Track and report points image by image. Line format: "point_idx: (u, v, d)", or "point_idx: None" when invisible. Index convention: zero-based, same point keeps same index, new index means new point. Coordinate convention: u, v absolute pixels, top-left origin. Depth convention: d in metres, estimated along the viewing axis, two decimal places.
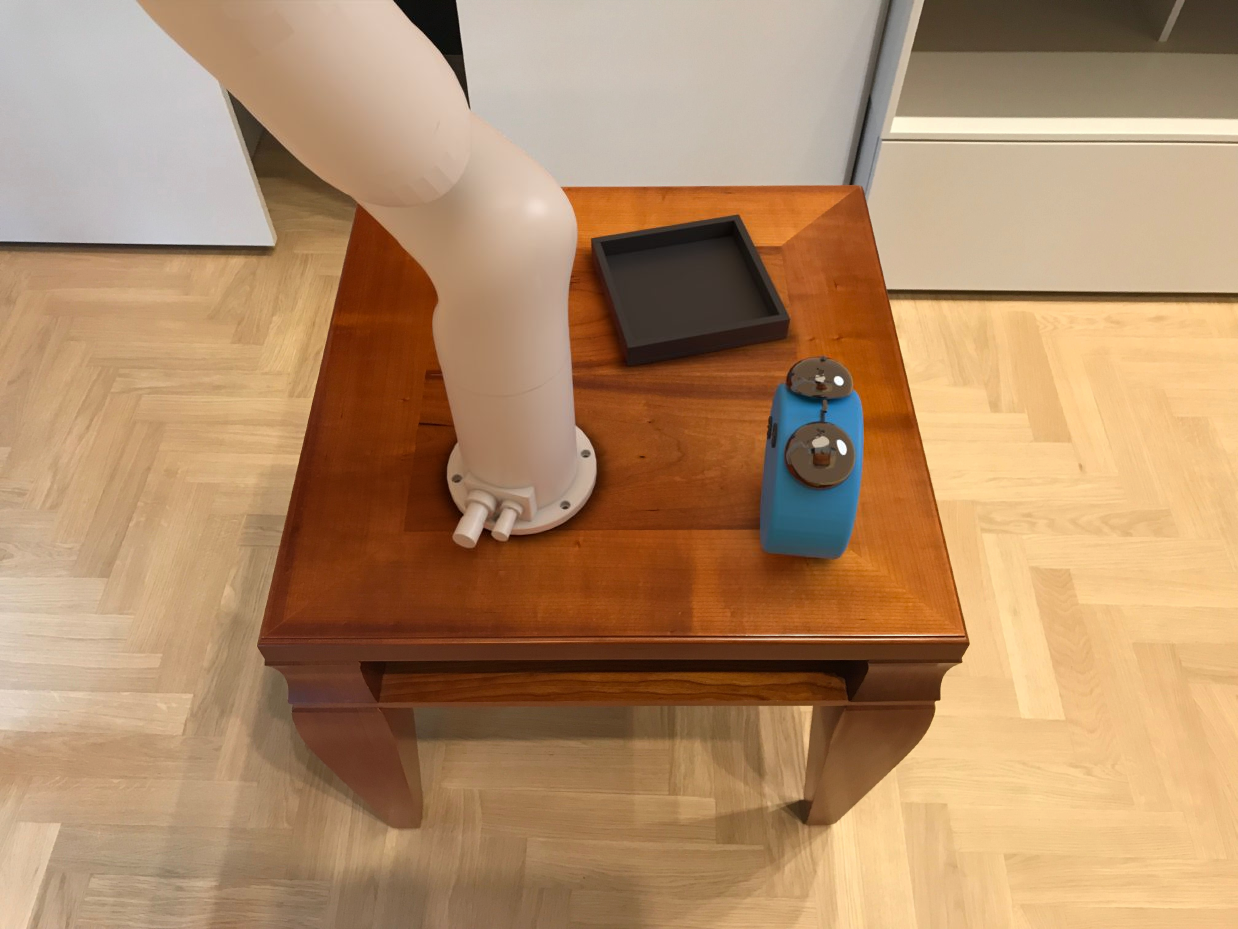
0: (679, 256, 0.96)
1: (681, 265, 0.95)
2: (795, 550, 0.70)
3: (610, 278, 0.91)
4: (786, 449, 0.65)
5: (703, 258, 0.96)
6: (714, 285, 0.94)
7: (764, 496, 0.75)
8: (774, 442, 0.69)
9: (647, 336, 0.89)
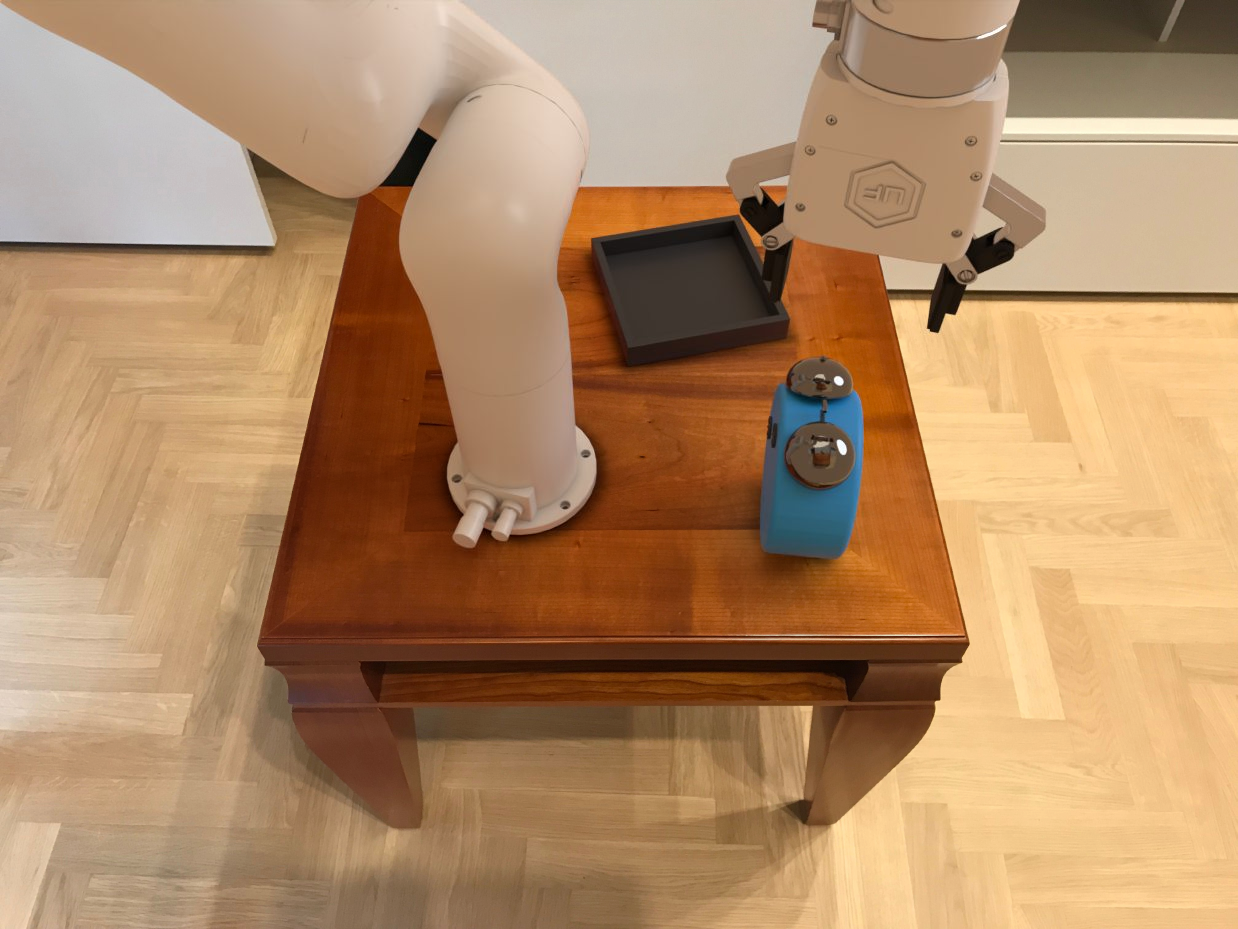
0: (679, 256, 0.96)
1: (681, 265, 0.95)
2: (795, 550, 0.70)
3: (610, 278, 0.91)
4: (786, 449, 0.65)
5: (703, 258, 0.96)
6: (714, 285, 0.94)
7: (764, 496, 0.75)
8: (774, 442, 0.69)
9: (647, 336, 0.89)
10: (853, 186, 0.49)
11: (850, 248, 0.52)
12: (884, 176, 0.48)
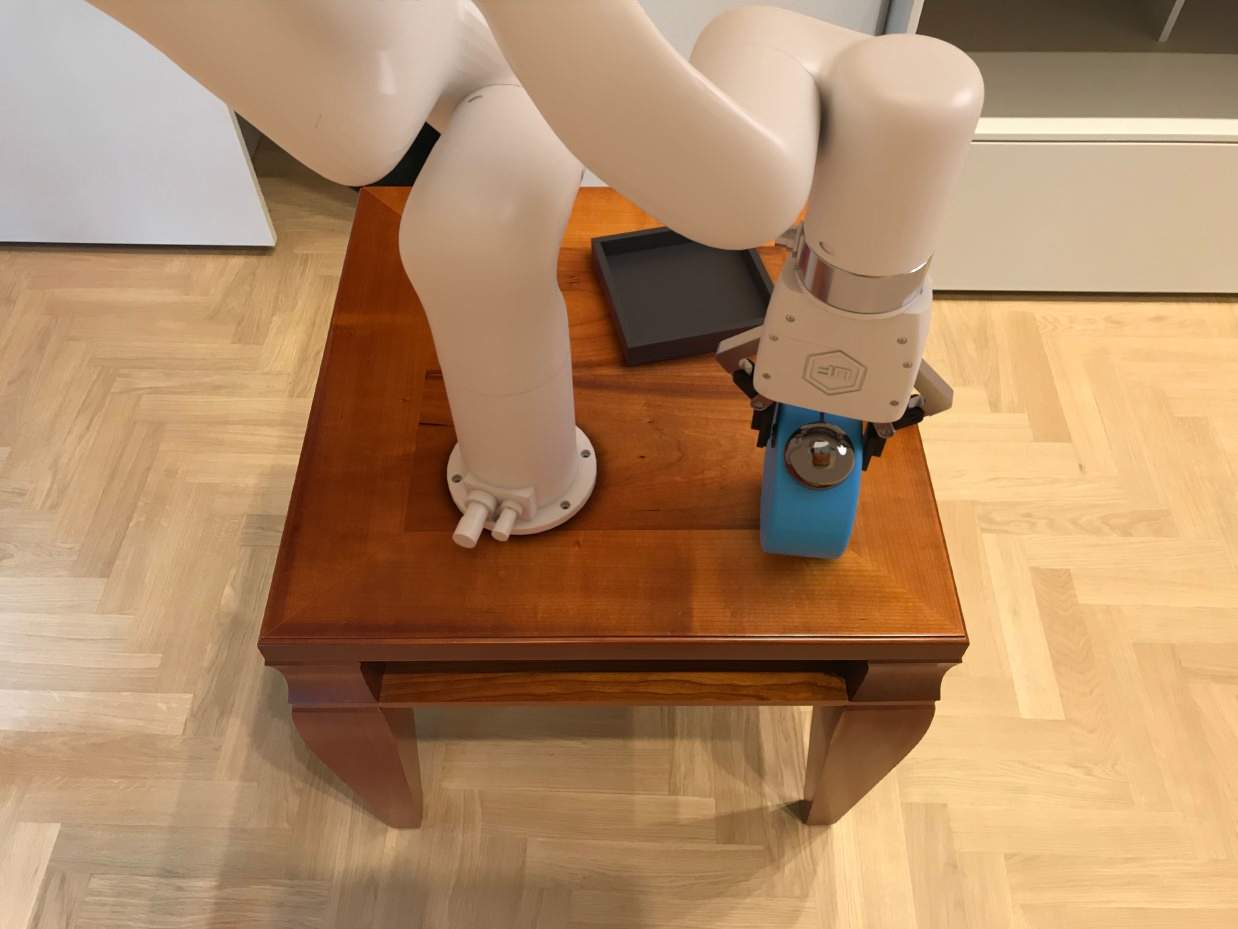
0: (679, 256, 0.96)
1: (681, 265, 0.95)
2: (795, 550, 0.70)
3: (610, 278, 0.91)
4: (785, 449, 0.65)
5: (703, 258, 0.96)
6: (714, 285, 0.94)
7: (764, 496, 0.75)
8: (774, 442, 0.69)
9: (647, 336, 0.89)
10: (809, 365, 0.60)
11: (808, 407, 0.63)
12: (834, 360, 0.59)
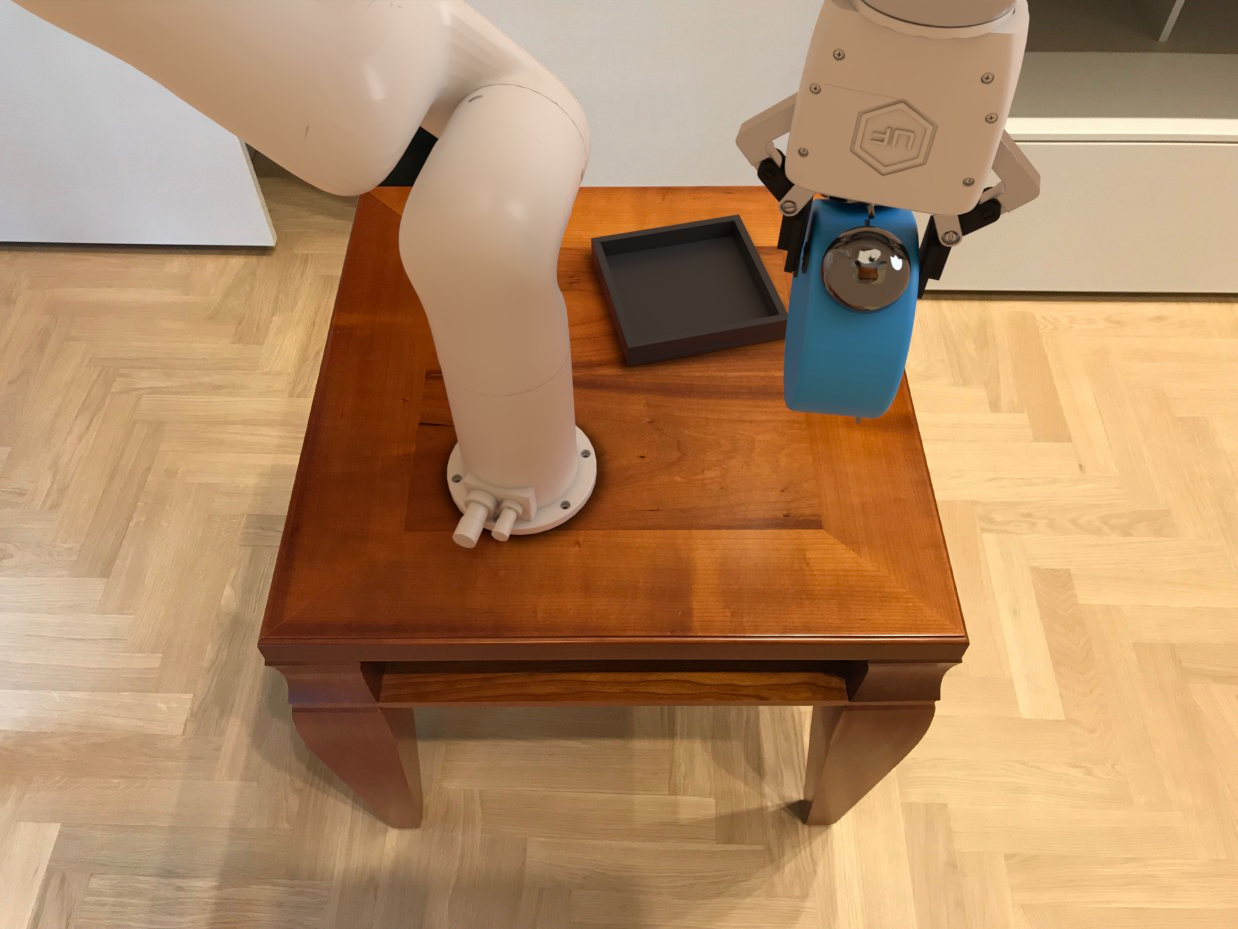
0: (679, 256, 0.96)
1: (681, 265, 0.95)
2: (830, 401, 0.56)
3: (610, 278, 0.91)
4: (823, 260, 0.52)
5: (703, 258, 0.96)
6: (714, 285, 0.94)
7: (790, 347, 0.61)
8: (806, 264, 0.55)
9: (647, 336, 0.89)
10: (860, 128, 0.46)
11: (855, 198, 0.49)
12: (893, 117, 0.45)
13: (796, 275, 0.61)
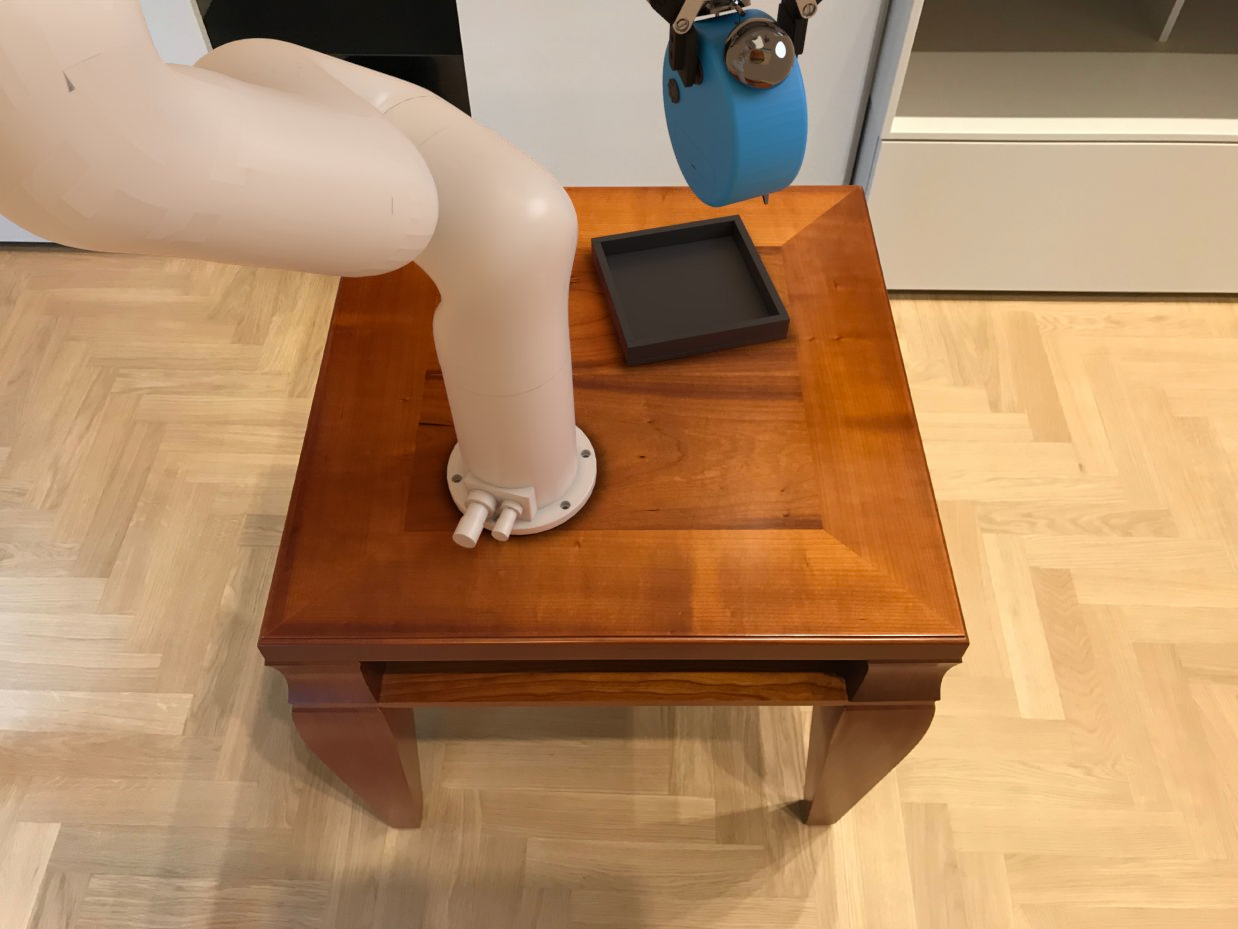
0: (679, 256, 0.96)
1: (681, 265, 0.95)
2: (759, 178, 0.68)
3: (610, 278, 0.91)
4: (728, 56, 0.63)
5: (703, 258, 0.96)
6: (714, 285, 0.94)
7: (696, 159, 0.72)
8: (701, 74, 0.66)
9: (647, 336, 0.89)
10: None
11: None
12: None
13: (678, 100, 0.72)
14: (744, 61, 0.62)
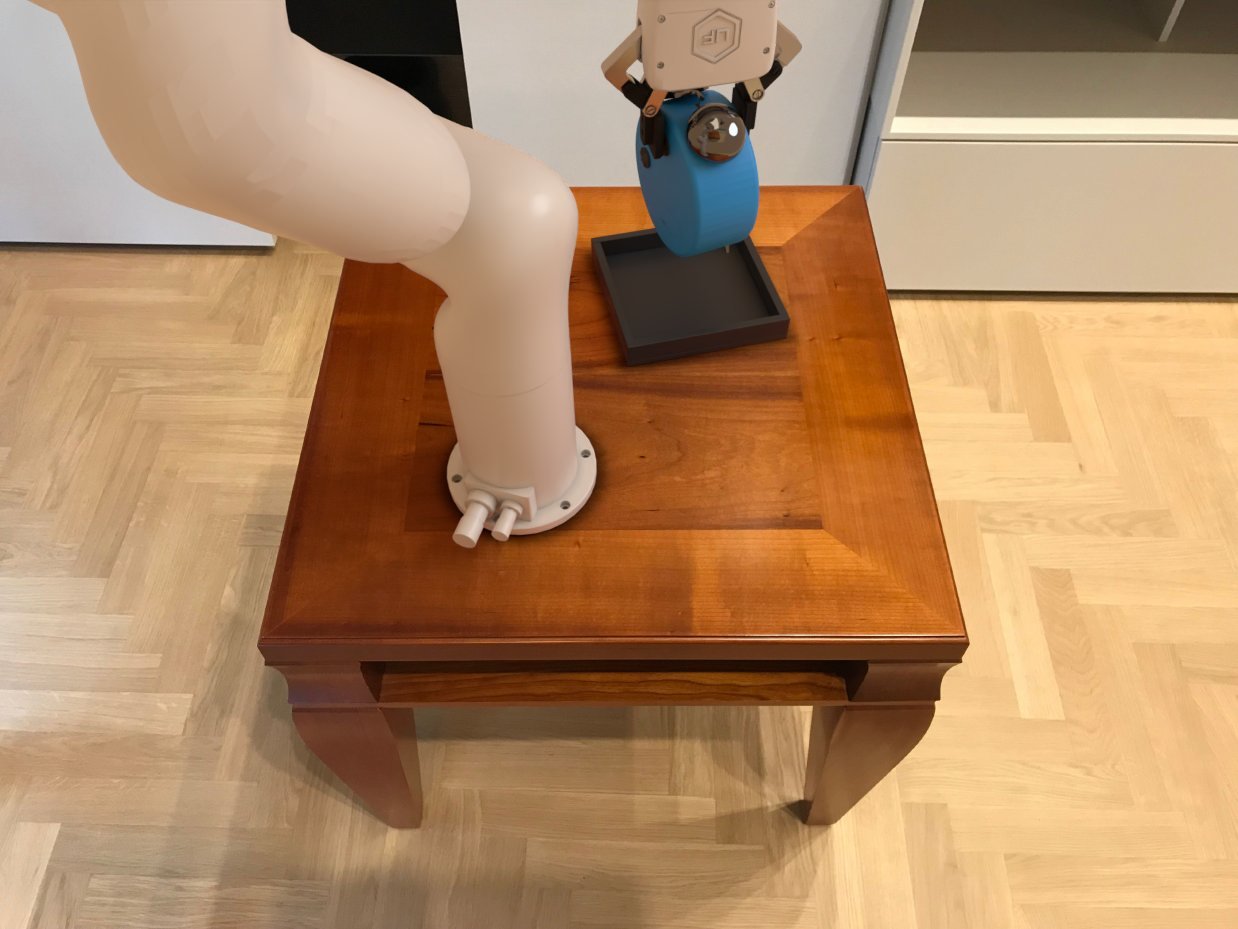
0: (679, 256, 0.96)
1: (681, 265, 0.95)
2: (719, 234, 0.80)
3: (610, 278, 0.91)
4: (689, 136, 0.74)
5: (703, 258, 0.96)
6: (714, 285, 0.94)
7: (666, 216, 0.83)
8: (668, 148, 0.78)
9: (647, 336, 0.89)
10: (695, 36, 0.69)
11: (699, 85, 0.72)
12: (714, 22, 0.68)
13: (649, 165, 0.83)
14: (703, 140, 0.74)
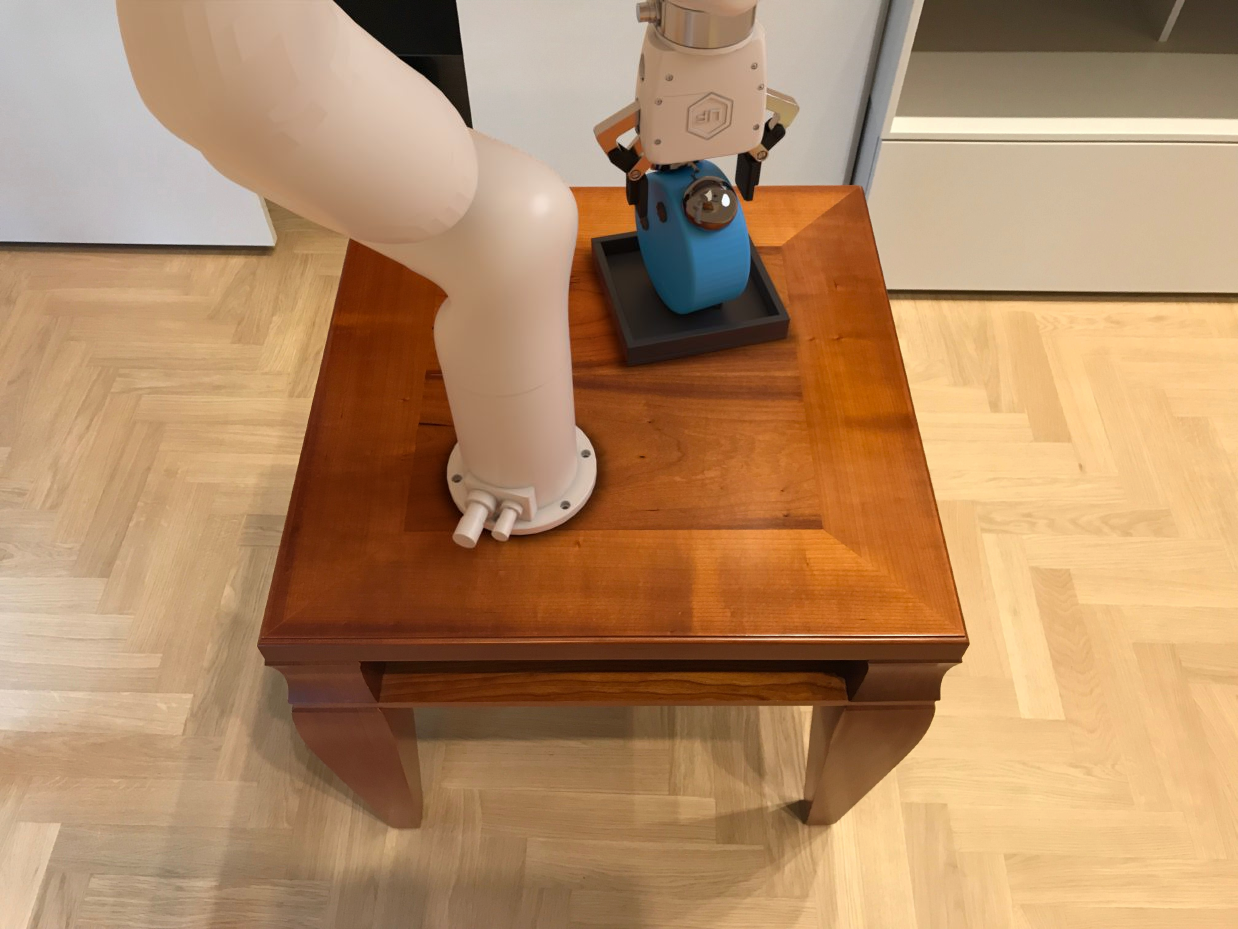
0: None
1: None
2: (713, 295, 0.85)
3: (610, 278, 0.91)
4: (685, 207, 0.80)
5: None
6: None
7: (663, 275, 0.89)
8: (665, 215, 0.83)
9: (647, 336, 0.89)
10: (689, 116, 0.74)
11: (693, 159, 0.77)
12: (707, 104, 0.73)
13: (647, 228, 0.89)
14: (698, 212, 0.79)
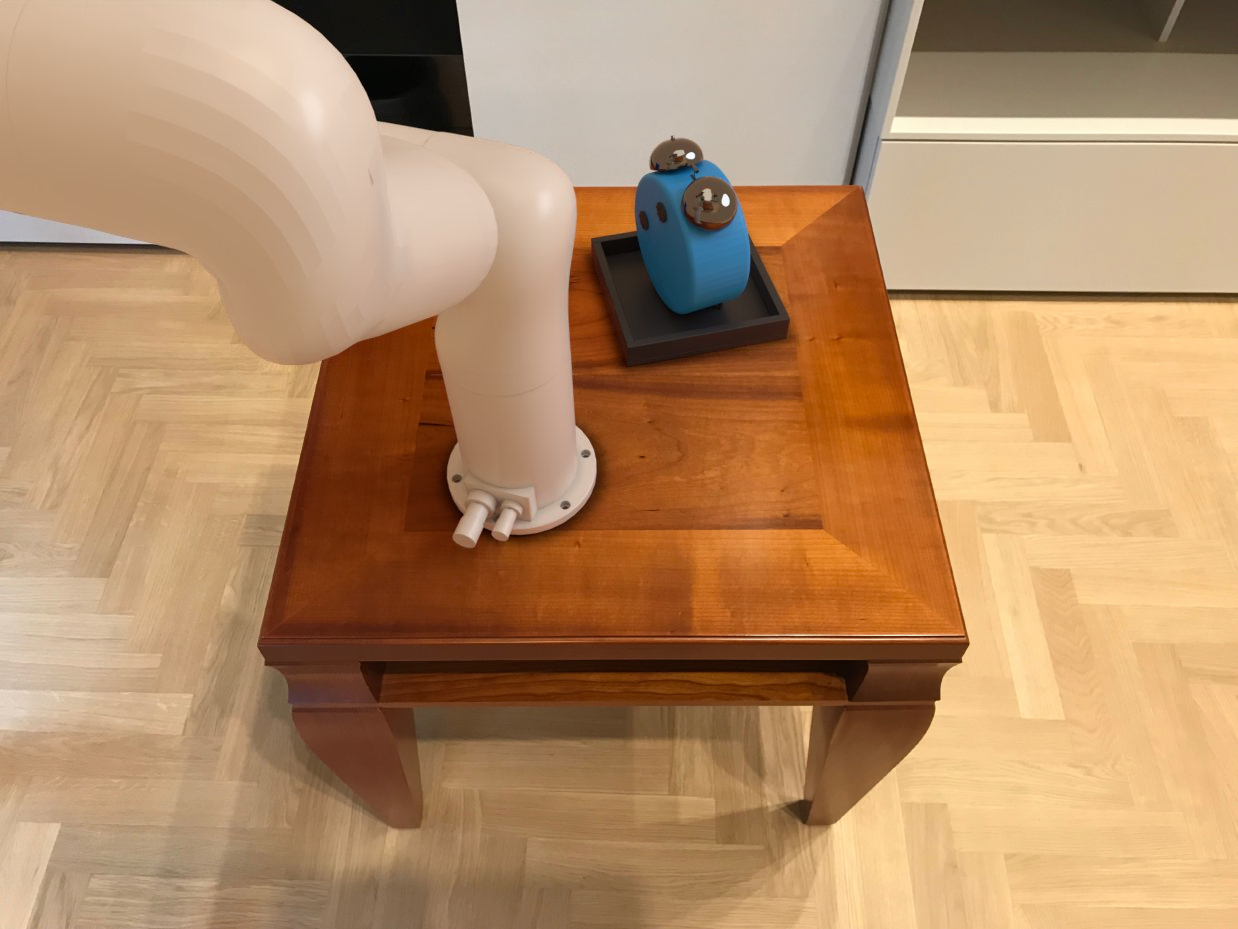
0: None
1: None
2: (713, 295, 0.85)
3: (610, 278, 0.91)
4: (685, 207, 0.80)
5: None
6: None
7: (663, 275, 0.89)
8: (665, 215, 0.83)
9: (647, 336, 0.89)
10: None
11: None
12: None
13: (647, 228, 0.89)
14: (697, 212, 0.79)
